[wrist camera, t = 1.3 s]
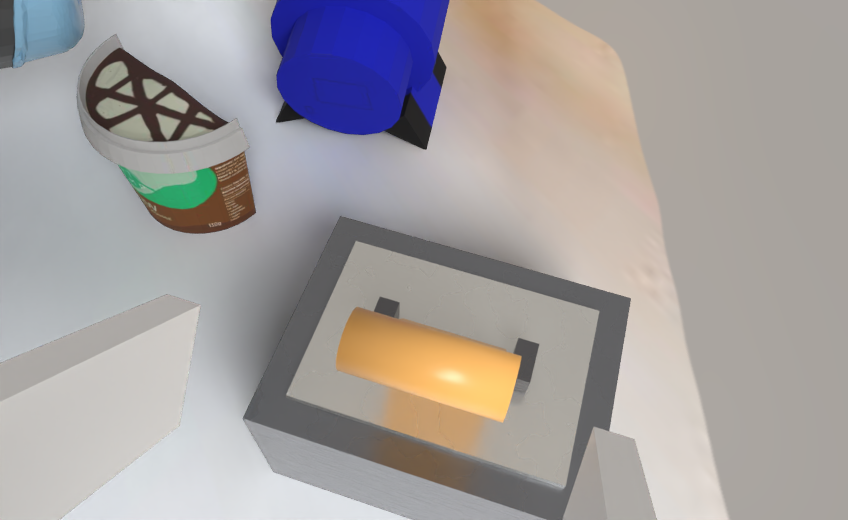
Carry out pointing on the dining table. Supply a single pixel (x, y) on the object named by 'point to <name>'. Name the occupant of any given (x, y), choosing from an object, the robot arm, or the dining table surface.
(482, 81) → the dining table surface
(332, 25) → the alarm clock
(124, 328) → the robot arm
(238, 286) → the dining table surface
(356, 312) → the lever
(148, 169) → the food container
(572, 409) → the box
